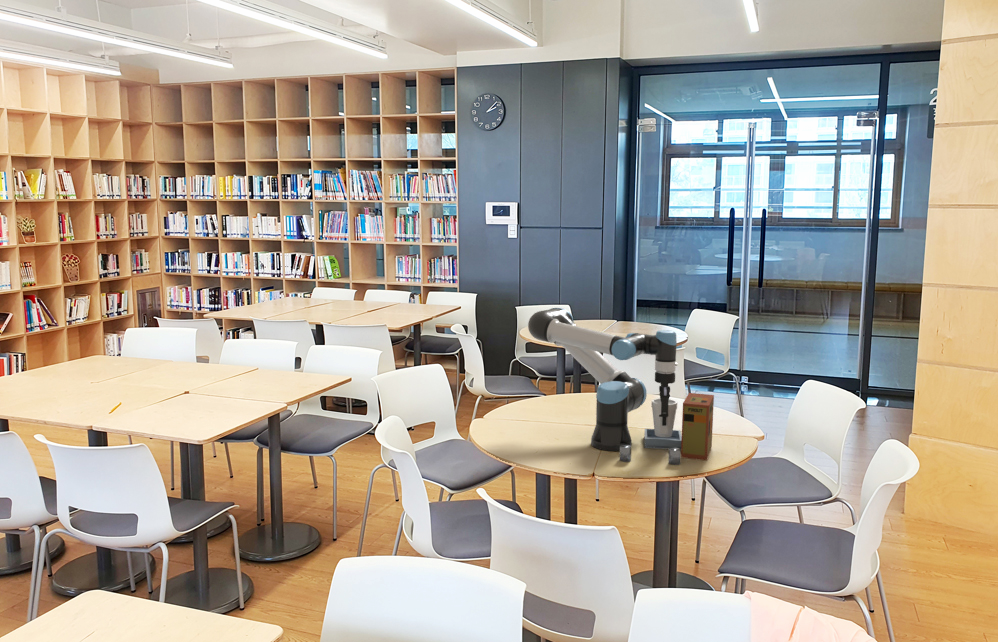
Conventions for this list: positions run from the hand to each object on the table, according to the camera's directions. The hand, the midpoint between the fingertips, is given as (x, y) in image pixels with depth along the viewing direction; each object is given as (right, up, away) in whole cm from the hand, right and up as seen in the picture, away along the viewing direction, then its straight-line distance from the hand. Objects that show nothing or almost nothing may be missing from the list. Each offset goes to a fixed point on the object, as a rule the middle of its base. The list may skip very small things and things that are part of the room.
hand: (663, 429), depth 285 cm
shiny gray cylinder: (-1, -9, -22) cm, 23 cm away
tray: (0, -5, +1) cm, 5 cm away
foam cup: (0, -2, 0) cm, 2 cm away
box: (+10, -7, -9) cm, 16 cm away
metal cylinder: (-18, -8, -19) cm, 27 cm away
